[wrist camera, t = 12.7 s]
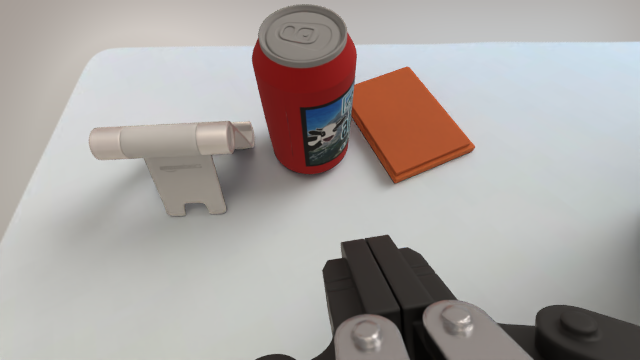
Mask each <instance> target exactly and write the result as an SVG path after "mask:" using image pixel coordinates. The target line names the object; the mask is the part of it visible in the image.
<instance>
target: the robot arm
mask: <svg viewBox="0 0 640 360" xmlns="http://www.w3.org/2000/svg"><path fill="white" fill-rule="evenodd" d="M341 252H342V258H340V259H333V260H327V262H326V264H325V266H324V268H323V270H322V271H323V278H324V285H325V292H326V299H327V307H328V313H329V319H330V324H331V330H332V335H333V339H332V341H331V343H330V345H329V346H328V347H327V349H326V350H325V351H323V352H322V353H321V354H320V355H318V356H317V357H315V358H313V359H312V360H640V326H637V325H634V324H631V323H628V322H624V321H621V320H618V319H615V318H612V317H608V316H605V315H602V314H599V313H596V312H593V311H589V310H586V309H583V308H579V307H574V306H567V305H553V306H548V307H545V308H543V309H541V310H540V311H539V312H538V313H537V315H536V321H535V326H527V325H511V324H500V323H496V322H495V321H494V320H493V319H492V318H491V317H490V316H489V315H488V314H487V313H485V312H484V311H483V310H482V309H480V308H479V307H477V306H475V305H473V304H470V303H467V302H463V301H458V300H457V299H456V297H455V296H454V295H453V294H452V292H451V291H450V290H449V289H448V287H447V286H446V285H445V284H444V282H443V281H442V280H441V279H440V278H439V276H438V275H437V274H435V271H434V270H433V269H432V268H431V266H429V265H428V263H427V261H426V260H425V259H424V258H423V256H422V255H421V254H419V253H417V252H416V251H414V250H412V249H410V248H408V247H407V248H400V249H398V248H397V247H396V245H395V244H394V242H393V241H392V239H391V238H390V236H389V235H383V236H377V237H370V238H365V240H364V239H358V240H352V241H346V242H341ZM256 360H296V359H294V358H292V357H290V356H287V355H283V354H271V355H266V356H263V357H260V358H258V359H256Z"/></svg>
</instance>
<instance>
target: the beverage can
mask: <svg viewBox="0 0 640 360" xmlns="http://www.w3.org/2000/svg"><path fill="white" fill-rule="evenodd" d="M356 58H357V54H356V48H355V46H354V43H353V41H352V39H351V38H350V36H349V34H348V33H347V27H346V25H345V23H344V21H343V20H342V18H341V17H340V16H339V15H338V14H336V13H335V12H333V11H331V10H329V9H327V8H324V7H321V6H317V5H309V4H306V5H305V4H302V5H293V6H288V7H285V8H282V9H280V10H277V11H275V12H274V13H272V14H271V15H269V16H268V17H267V18H266V19H265V20H264V21H263V23H262V24H261V26H260V29H259V33H258V40H257V42H256V45H255V47H254V50H253V55H252V63H253V68H254V72H255V76H256V81H257V85H258V90H259V94H260V98H261V102H262V106H263V111H264V115H265V119H266V123H267V127H268V131H269V134H270V138H271V142H272V146H273V149H274V153H275V155H276V157H277V159H278V160H279V161H280V162H281V163H282V164H283V165H284V166H285V167H287V168H288V169H290V170H292V171H295V172H298V173H303V174H316V173H321V172H324V171H327V170H329V169H331V168H333V167H334V166H336V165H337V164H338V163H339V162H340V161H341V160H342V159H343V157H344V155H345V154H346V151H347V148H348V140H349V132H350V123H351V114H352V104H353V93H354V82H355V70H356Z"/></svg>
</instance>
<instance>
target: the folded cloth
mask: <svg viewBox="0 0 640 360" xmlns="http://www.w3.org/2000/svg"><path fill="white" fill-rule="evenodd" d="M351 116H352V118H353V119H354V121H355V122H356V124H357V125H358V127H359V129H360V130H361V132H362V133H363V135H364V136H365V138H366V139H367V141H368V143H369V144H370V146H371V147H372V149H373V150H374V152H375V154H376V155H377V157H378V158H379V160H380V161H381V163H382V164H383V166H384V168H385V169H386V171H387V172H388V174H389V175H390V177H391V179H392V180H393V182H394V183H398V182H400V181H402V180H405V179H407V178H410V177H412V176H414V175H417V174H419V173H421V172H424V171H426V170H429V169H431V168H433V167H436V166H438V165H440V164H443V163H445V162H448V161H450V160H452V159H455V158H457V157H460V156H462V155H464V154H467V153H469V152H471V151H473V149H474V148H475V146H474V145H473V143H472V142H471V141H470V140H469V139H468V137H467V136H466V135H465V134H464V133H463V131H462V130H461V129H460V128H459V127H458V125H457V124H456V123H455V122H454V121H453V119H452V118H451V117H450V116H449V115H448V113H447V112H446V111H445V110H444V109H443V107H442V106H441V105H440V104H439V103H438V101H437V100H436V99H435V98H434V96H433V95H432V94H431V93H430V92H429V90H428V89H427V88H426V87H425V86H424V84H423V83H422V82H421V81H420V80H419V78H418V77H417V76H416V75H415V74H414V72H413V71H412V70H411V69H410V68H409V67H405V68H402V69H399V70H396V71H393V72H390V73H387V74H384V75H382V76H379V77H376V78H373V79H370V80H367V81H364V82H361V83H359V84H356V85H354V93H353V104H352V114H351Z"/></svg>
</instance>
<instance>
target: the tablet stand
mask: <svg viewBox="0 0 640 360" xmlns="http://www.w3.org/2000/svg"><path fill="white" fill-rule="evenodd" d="M254 144H255V137H254V130H253V127H252V124H251V122H230V121H219V122H200V123H179V124H160V125H140V126H120V127H101V128H94V129H93V130H92V131H91V133H90V136H89V146H90V150H91V152H92V154H93V155H94V157H95V158H96V159H98V160H117V159H137V158H144V160H145V162H146V164H147V167H148V169H149V171H150V174H151V176H152V178H153V181H154V183H155V185H156V188H157V190H158V192H159V195H160V197H161V199H162V201H163V204H164V206H165V209H166V211H167V214H169V215H170V216H185V215H186V211H185V204H186V203H204V204H205V205H206V207H207V209H208V211H209V212H210V214H222V213H225V212H226V209H227V208H226V205H225V201H224V198H223V194H222V190H221V187H220V183H219V180H218V176H217V173H216V169H215V165H214V162H213V158H212V155H214V154H232V153H233V152H234V149H246V148H254Z"/></svg>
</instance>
